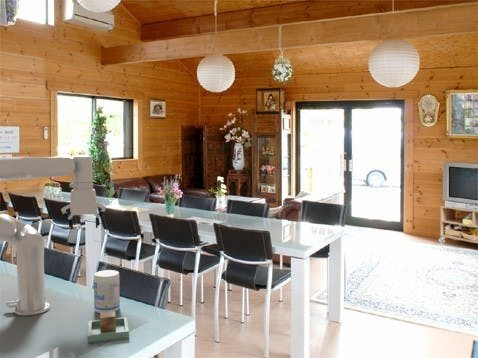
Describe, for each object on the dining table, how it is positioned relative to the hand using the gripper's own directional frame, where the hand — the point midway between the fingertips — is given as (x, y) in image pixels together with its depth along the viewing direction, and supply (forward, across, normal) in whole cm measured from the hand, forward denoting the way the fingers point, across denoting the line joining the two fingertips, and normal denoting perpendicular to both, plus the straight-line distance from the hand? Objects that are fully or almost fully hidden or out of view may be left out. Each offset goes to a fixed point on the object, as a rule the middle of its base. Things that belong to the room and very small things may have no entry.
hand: (84, 228), depth 192 cm
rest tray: (+30, +8, -36) cm, 48 cm away
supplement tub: (+31, +8, -13) cm, 34 cm away
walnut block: (+30, +8, -36) cm, 47 cm away
